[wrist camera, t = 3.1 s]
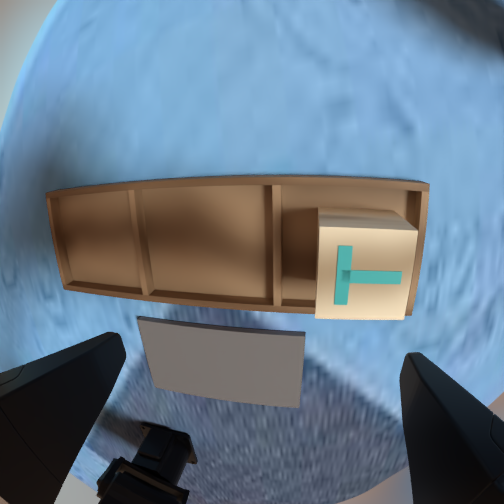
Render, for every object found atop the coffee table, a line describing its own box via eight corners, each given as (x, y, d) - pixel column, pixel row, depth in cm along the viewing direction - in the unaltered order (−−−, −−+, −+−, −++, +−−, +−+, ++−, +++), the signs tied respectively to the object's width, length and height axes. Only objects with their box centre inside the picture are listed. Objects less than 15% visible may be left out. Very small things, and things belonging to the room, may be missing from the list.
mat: (299, 403, 25) (299, 407, 25) (157, 383, 28) (155, 387, 27) (305, 332, 22) (305, 336, 22) (140, 316, 25) (137, 319, 25)
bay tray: (406, 305, 20) (411, 315, 19) (73, 283, 26) (63, 289, 24) (421, 181, 17) (429, 183, 16) (56, 189, 23) (45, 193, 22)
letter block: (386, 282, 20) (403, 320, 15) (315, 280, 21) (314, 318, 16) (393, 210, 18) (418, 231, 13) (318, 207, 19) (319, 226, 14)
